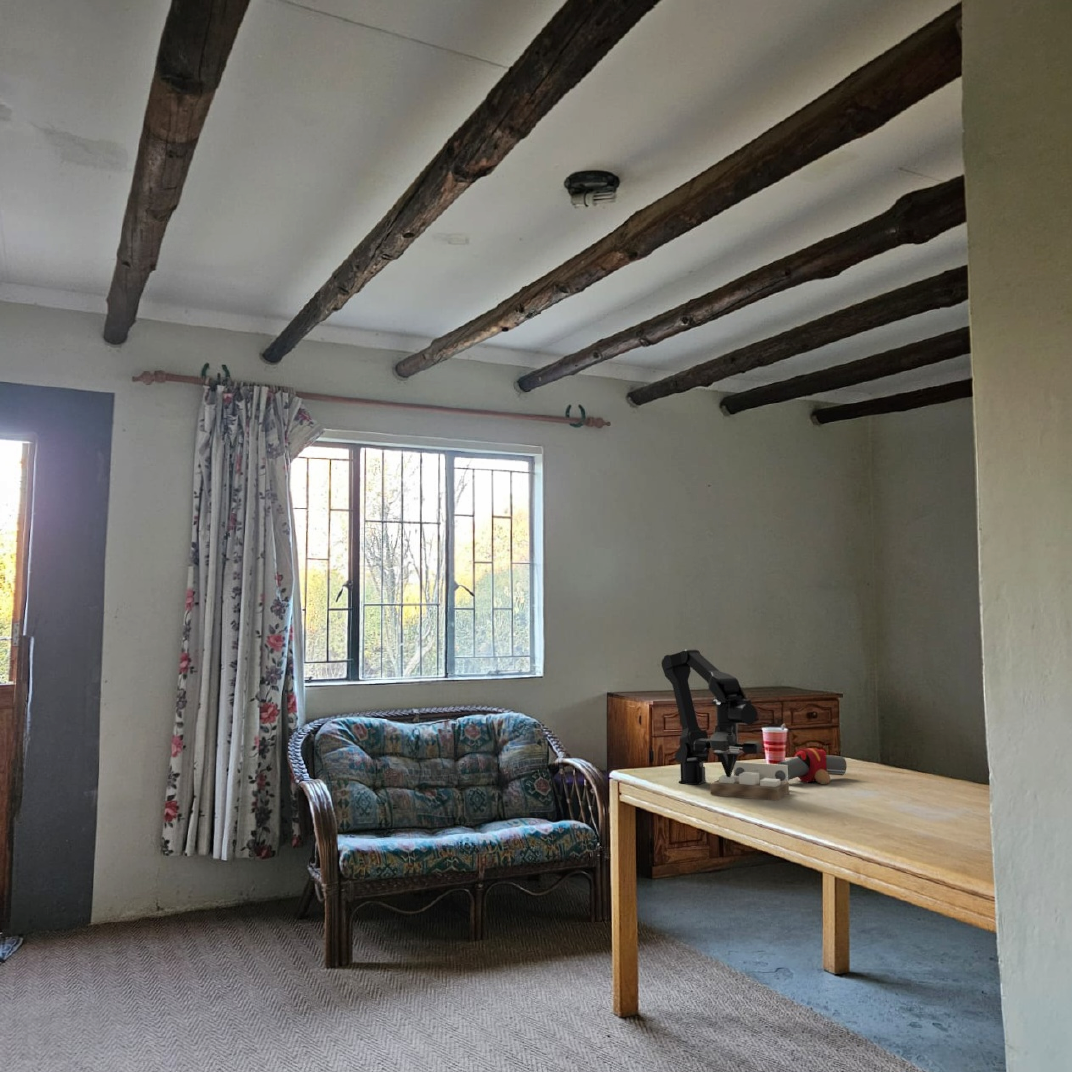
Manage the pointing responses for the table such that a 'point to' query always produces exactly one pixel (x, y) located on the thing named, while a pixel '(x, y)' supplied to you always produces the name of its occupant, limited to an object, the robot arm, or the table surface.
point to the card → (763, 770)
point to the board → (750, 790)
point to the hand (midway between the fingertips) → (728, 776)
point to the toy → (814, 765)
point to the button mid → (749, 778)
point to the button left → (729, 779)
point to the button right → (770, 782)
